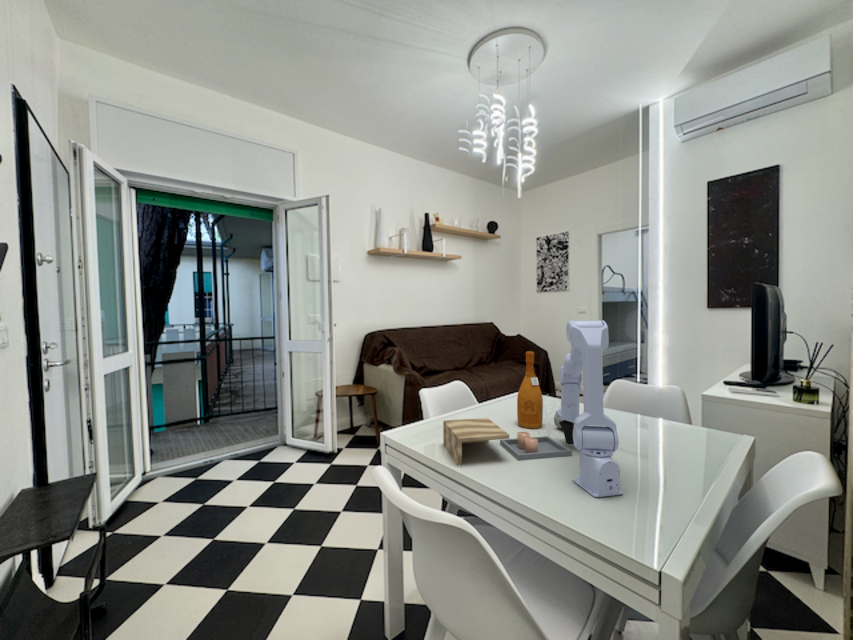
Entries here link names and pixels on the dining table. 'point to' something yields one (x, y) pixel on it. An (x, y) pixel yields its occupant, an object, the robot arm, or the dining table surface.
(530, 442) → the pink round cylinder
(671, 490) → the dining table surface
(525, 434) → the peg
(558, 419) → the ceramic mug
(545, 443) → the tray
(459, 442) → the wooden l-shaped bracket
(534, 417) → the wine bottle
